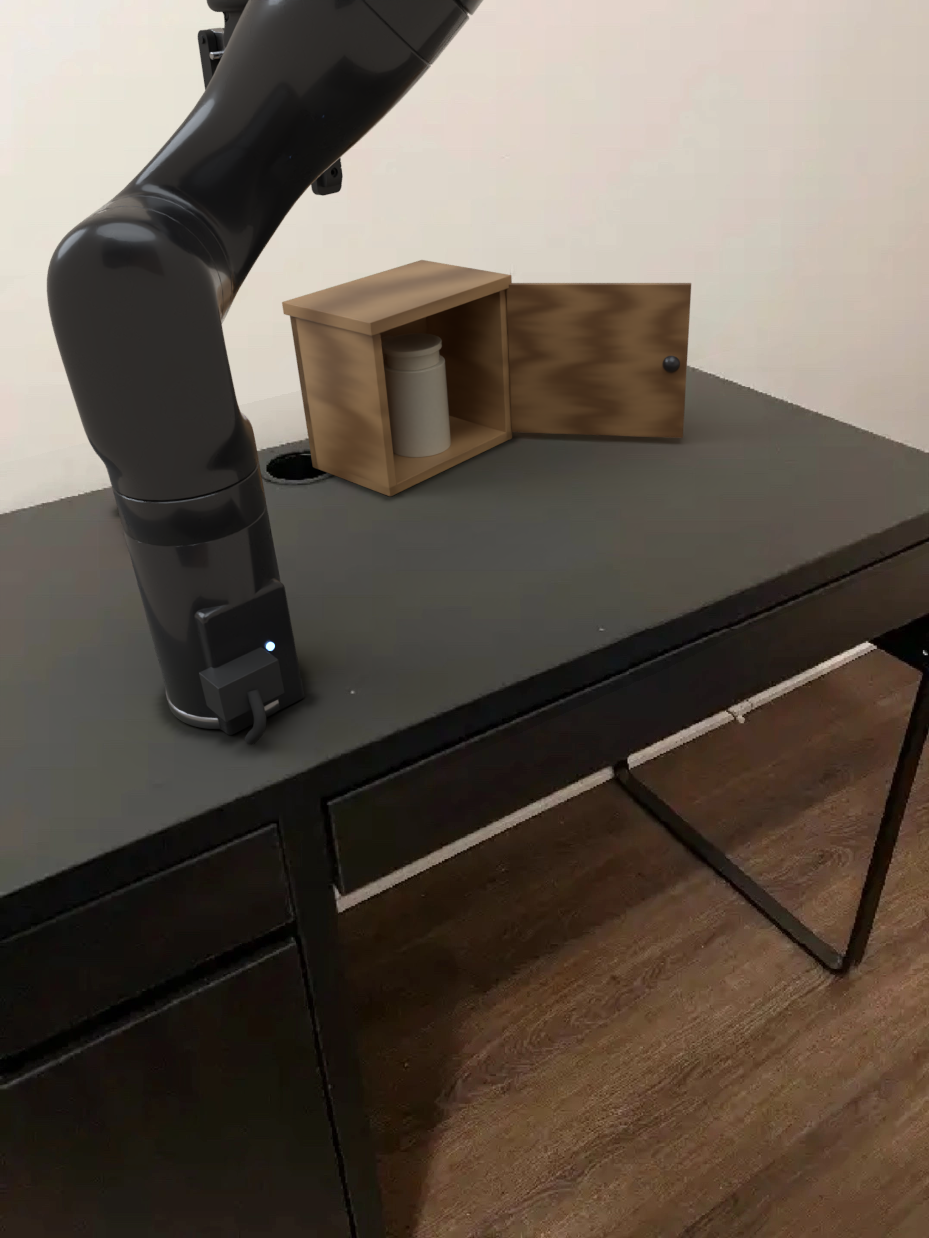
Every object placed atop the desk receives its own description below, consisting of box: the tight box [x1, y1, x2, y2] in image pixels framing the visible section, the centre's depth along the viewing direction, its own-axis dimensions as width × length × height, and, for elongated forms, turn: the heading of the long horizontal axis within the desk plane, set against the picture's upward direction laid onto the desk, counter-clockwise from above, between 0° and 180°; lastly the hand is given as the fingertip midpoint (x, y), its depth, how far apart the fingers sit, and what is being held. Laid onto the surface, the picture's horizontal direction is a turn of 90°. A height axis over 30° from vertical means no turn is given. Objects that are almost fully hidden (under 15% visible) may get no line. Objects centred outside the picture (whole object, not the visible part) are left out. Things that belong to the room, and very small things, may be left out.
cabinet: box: [281, 259, 692, 497], centre depth 103 cm, size 28×28×17 cm
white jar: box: [381, 333, 451, 457], centre depth 105 cm, size 7×6×11 cm
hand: (290, 189), depth 76 cm, fingers open, 8 cm apart
